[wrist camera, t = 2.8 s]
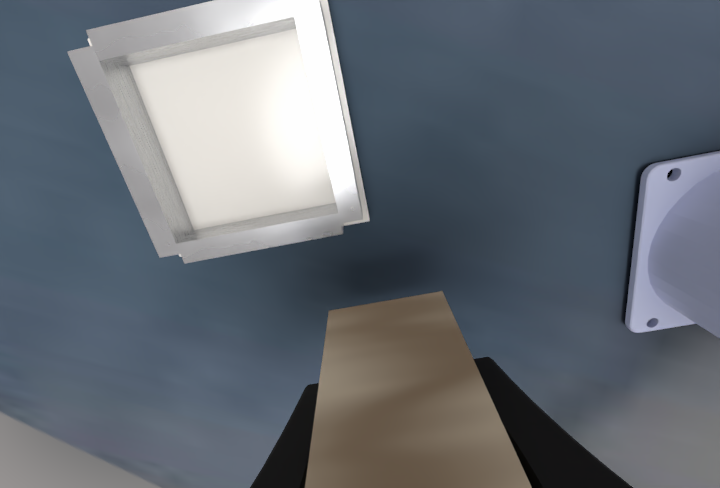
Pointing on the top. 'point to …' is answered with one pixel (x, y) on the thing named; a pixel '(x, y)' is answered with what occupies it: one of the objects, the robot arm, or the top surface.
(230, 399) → the top surface
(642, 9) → the top surface
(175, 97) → the tile
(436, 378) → the wooden block
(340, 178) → the white square tray
